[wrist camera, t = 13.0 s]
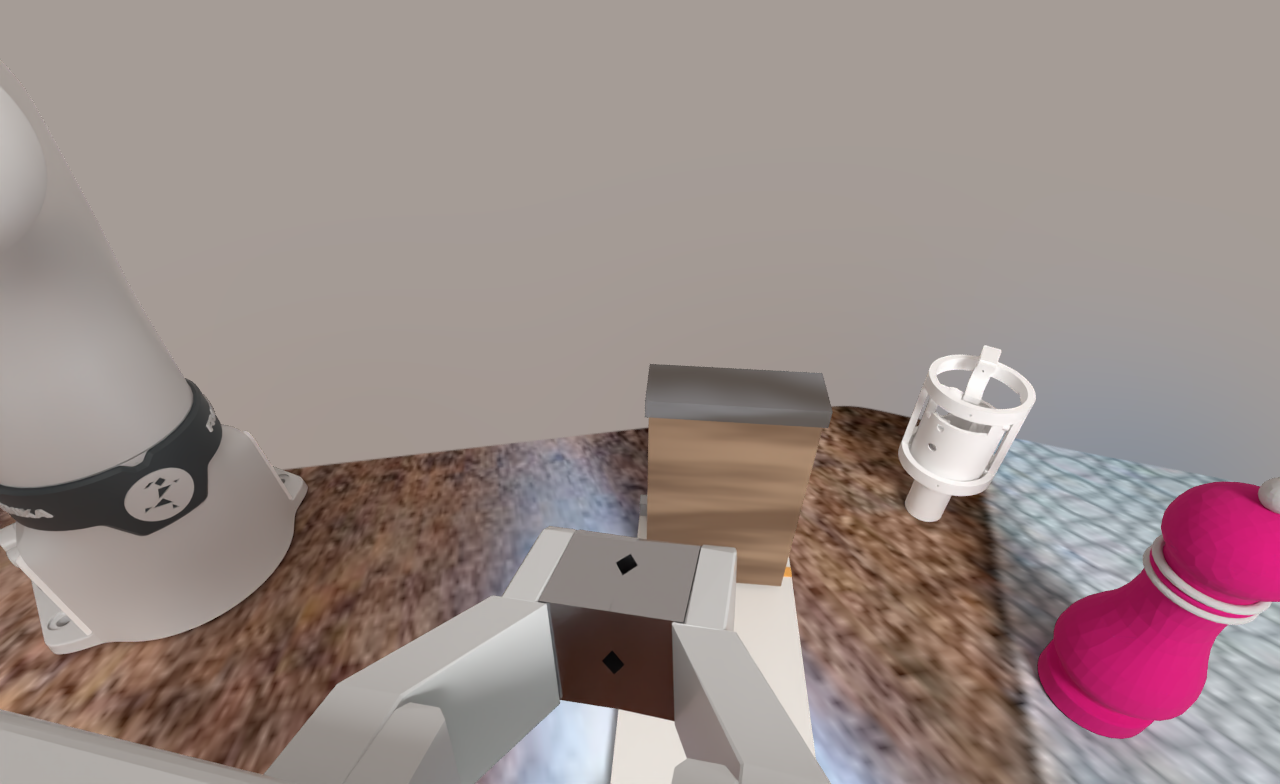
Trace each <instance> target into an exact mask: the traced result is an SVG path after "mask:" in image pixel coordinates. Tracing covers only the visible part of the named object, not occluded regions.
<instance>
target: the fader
mask: <svg viewBox="0 0 1280 784" xmlns="http://www.w3.org/2000/svg"><path fill="white" fill-rule="evenodd" d="M831 415H832V408H831V405H830V401H829V397H828V393H827V390H826V386H825V382H824V378H823V374H822V373H807V372H788V371H770V370H751V369H732V368H713V367H694V366H676V365H656V364H650V367H649V375H648V383H647V391H646V400H645V417H649V437H648V492H647V539H649V540H658V541H666V542H675V543H684V544H693V545H702V546H703V545H711V546H722V547H733V548H735V549H736V550H737V572H736V583H743V584H757V585H770V586H781V584H782V580H783V576H784V572H785V568H786V565H787V561H788V557H789V553H790V550H791V546H792V542H793V538H794V534H795V531H796V527H797V523H798V519H799V516H800V512H801V508H802V504H803V500H804V497H805V493H806V489H807V485H808V482H809V478H810V474H811V470H812V466H813V463H814V459H815V455H816V451H817V448H818V444H819V440H820V436H821V432H822V429H823V428H828V426H829V423H830V419H831Z"/></svg>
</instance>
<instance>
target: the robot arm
mask: <svg viewBox="0 0 1280 784" xmlns="http://www.w3.org/2000/svg"><path fill="white" fill-rule="evenodd" d="M307 489H308V486H307V484H306V483H305V482H304V480H303V479H302V478H301V477H300V476H297V475H295V474H292V473H289V472H287V471H284V470H281V469H279V468H276V467H274V466H272V465H271V464H270V462H269V460H268V459H267V457H266V456H265V454H264V452H263V451H262V449H261V448H260V446H259V445H258V443H257V442H256V440H255V439H254V437H253V436H252V435H251V434H250V433H249V432H248V431H240V430H239V429H237V428H235V427H231V426H228V425H222V424H220V422H219V420H218V418H217V416H216V415H215V411H214V408H213V407H212V405H211V403H210V402H209V400H208V399H207V397H205V395H204V394H202V393H201V391H200V390H199V388H198V387H197V386H196V385H195V384H194V383H193V382H192V381H190V380H188V379H186V378H184V376H183V375H182V373H181V371H180V370H179V368H178V366H177V364H176V363H175V361H174V359H173V358H172V356H171V354H170V353H169V351H168V349H167V348H166V346H165V344H164V343H163V341H162V340H161V338H160V336H159V334H158V333H157V331H156V329H155V328H154V326H153V325H152V323H151V321H150V319H149V318H148V316H147V314H146V313H145V311H144V310H143V308H142V306H141V304H140V303H139V301H138V299H137V297H136V296H135V294H134V292H133V290H132V289H131V287H130V285H129V284H128V281H127V279H126V277H125V275H124V273H123V271H122V269H121V266H120V264H119V262H118V260H117V259H116V256H115V254H114V252H113V250H112V248H111V246H110V244H109V242H108V240H107V238H106V237H105V234H104V232H103V230H102V228H101V226H100V225H99V223H98V221H97V219H96V217H95V215H94V213H93V211H92V209H91V207H90V205H89V203H88V202H87V200H86V198H85V196H84V194H83V192H82V190H81V188H80V186H79V185H78V183H77V181H76V179H75V177H74V175H73V174H72V172H71V170H70V168H69V166H68V164H67V163H66V160H65V159H64V157H63V155H62V154H61V151H60V149H59V148H58V146H57V144H56V142H55V140H54V139H53V137H52V135H51V133H50V131H49V129H48V128H47V126H46V124H45V122H44V121H43V119H42V117H41V115H40V113H39V111H38V110H37V108H36V106H35V104H34V102H33V101H32V99H31V97H30V96H29V94H28V92H27V91H26V90H25V88H24V87H23V85H22V84H21V82H20V81H19V80H18V79H17V77H16V76H15V75H14V74H13V73H12V71H11V70H10V69H9V68H8V67H7V66H6V65H5V64H4V62H3V61H2V60H0V508H2V509H3V510H4V511H6V512H8V513H9V514H10V515H11V516H12V517H13V518H14V519H15V520H16V522H15V523H13V524H11V525H9V526H7V527H4V528H2V529H0V545H1V546H2V548H3V549H4V550H5V551H6V554H7V556H8V558H9V560H10V561H11V562H12V563H13V564H14V565H15V566H16V567H18V568H20V569H21V570H22V571H23V572H24V573H25V574H26V575H27V576H28V577H29V578H30V579H31V581H32V586H33V591H34V595H35V600H36V604H37V609H38V613H39V618H40V623H41V627H42V632H43V636H44V641H45V643H46V645H47V646H48V647H49V648H50V650H51V651H52V652H53V653H55V654H68V653H72V652H76V651H80V650H83V649H86V648H90V647H93V646H96V645H99V644H102V643H107V642H139V641H149V640H155V639H161V638H165V637H169V636H173V635H176V634H179V633H182V632H185V631H188V630H190V629H193V628H196V627H198V626H200V625H202V624H204V623H206V622H209V621H211V620H213V619H214V618H216V617H218V616H220V615H222V614H223V613H225V612H227V611H228V610H230V609H231V608H233V607H234V606H236V605H237V604H239V603H240V602H241V601H243V600H244V599H245V598H247V597H248V596H249V595H250V594H252V593H253V592H254V591H255V590H256V589H257V588H258V587H259V586H261V585H262V584H263V583H264V582H265V581H266V580H267V579H268V577H269V576H270V575H271V574H272V573H273V572H274V570H275V569H276V568H277V567H278V565H279V564H280V562H281V561H282V559H283V558H284V556H285V554H286V552H287V550H288V548H289V546H290V543H291V540H292V537H293V533H294V520H295V513H296V510H297V508H298V507H299V505H300V504H301V502H302V500H303V499H304V497H305V495H306V493H307ZM736 572H737V550H736V549H735V548H733V547H722V546H711V545H703V546H702V545H693V544H684V543H675V542H666V541H658V540H649V539H639V538H635V537H627V536H620V535H613V534H606V533H599V532H592V531H585V530H575V529H568V528H561V527H553V526H549V527H547V528H545V529H544V530H543V531H542V532H541V533H540V535H539V537H538V538H537V540H536V541H535V543H534V545H533V546H532V548H531V550H530V551H529V553H528V554H527V556H526V558H525V559H524V561H523V563H522V564H521V566H520V567H519V569H518V571H517V572H516V574H515V575H514V577H513V579H512V580H511V582H510V584H509V585H508V587H507V588H506V590H505V592H504V593H503V595H502V597H499V596H491V597H489V598H487V599H485V600H484V601H482V602H480V603H478V604H477V605H475V606H473V607H471V608H470V609H468V610H466V611H464V612H463V613H461V614H459V615H457V616H456V617H454V618H452V619H450V620H449V621H447V622H445V623H443V624H442V625H440V626H438V627H436V628H435V629H433V630H431V631H429V632H427V633H426V634H424V635H422V636H420V637H419V638H417V639H415V640H413V641H412V642H410V643H408V644H406V645H405V646H403V647H401V648H399V649H398V650H396V651H394V652H392V653H391V654H389V655H387V656H385V657H384V658H382V659H380V660H378V661H377V662H375V663H373V664H371V665H370V666H368V667H366V668H364V669H363V670H361V671H359V672H357V673H355V674H354V675H352V676H350V677H348V678H347V679H345V680H343V681H341V682H340V683H338V684H337V685H336V686H335V687H334V689H333V690H332V691H331V692H330V693H329V695H328V696H327V697H326V698H325V700H324V701H323V702H322V703H321V705H320V706H319V707H318V708H317V709H316V711H315V712H314V713H313V714H312V716H311V717H310V718H309V719H308V720H307V722H306V723H305V724H304V725H303V727H302V728H301V729H300V730H299V732H298V733H297V734H296V735H295V736H294V738H293V739H292V740H291V741H290V743H289V744H288V745H287V746H286V748H285V749H284V750H283V751H282V752H281V754H280V755H279V756H278V757H277V759H276V760H275V761H274V762H273V764H272V765H271V766H270V767H269V768H268V770H267V771H266V772H265V773H264V775H262V774H258V773H254V772H250V771H246V770H242V769H238V768H234V767H230V766H226V765H222V764H218V763H214V762H210V761H206V760H202V759H198V758H194V757H190V756H186V755H182V754H178V753H174V752H170V751H166V750H162V749H158V748H154V747H150V746H146V745H142V744H138V743H134V742H130V741H126V740H122V739H118V738H114V737H110V736H105V735H101V734H97V733H93V732H89V731H85V730H81V729H77V728H73V727H69V726H65V725H61V724H57V723H53V722H49V721H45V720H41V719H37V718H33V717H29V716H25V715H21V714H17V713H13V712H9V711H5V710H1V709H0V784H475V783H476V782H477V781H478V780H479V779H480V778H481V777H482V776H483V775H484V774H485V773H486V772H487V771H488V770H490V769H491V768H492V767H493V766H494V765H495V764H496V763H497V762H498V761H499V760H500V759H501V758H502V757H503V756H505V755H506V754H507V753H508V752H509V751H510V750H511V749H512V748H513V747H514V746H515V745H516V744H517V743H518V742H520V741H521V740H522V739H523V738H524V737H525V736H526V735H527V734H528V733H529V732H530V731H531V730H532V729H533V728H535V727H536V726H537V725H538V724H539V723H540V722H541V721H542V720H543V719H544V718H545V717H546V716H547V715H548V714H549V713H551V712H552V711H553V710H554V709H555V708H556V707H557V706H558V705H559V704H560V700H564V701H570V702H577V703H583V704H590V705H596V706H602V707H609V708H615V709H620V710H625V711H629V712H634V713H638V714H643V715H648V716H652V717H657V718H661V719H666V720H671V721H675V727H676V730H677V732H678V735H679V738H680V741H681V744H682V746H683V749H684V752H685V755H686V758H687V759H685V760H684V761H683V762H681V763H680V764H678V765H677V766H676V767H675V768H674V773H673V778H672V783H671V784H831V783H830V781H829V780H828V778H827V776H826V775H825V773H824V772H823V770H822V768H821V767H820V765H819V764H818V762H817V760H816V759H815V757H814V756H813V754H812V752H811V751H810V749H809V748H808V746H807V744H806V743H805V741H804V740H803V738H802V736H801V735H800V733H799V732H798V730H797V728H796V727H795V725H794V724H793V722H792V720H791V719H790V717H789V716H788V714H787V712H786V711H785V709H784V708H783V706H782V704H781V703H780V701H779V700H778V698H777V696H776V695H775V693H774V692H773V690H772V688H771V687H770V685H769V684H768V682H767V680H766V679H765V677H764V676H763V674H762V672H761V671H760V669H759V668H758V666H757V664H756V663H755V661H754V660H753V658H752V656H751V655H750V653H749V652H748V650H747V648H746V647H745V645H744V644H743V642H742V640H741V639H740V637H739V636H738V634H737V632H734V619H735V598H736Z"/></svg>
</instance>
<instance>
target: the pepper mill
mask: <svg viewBox="0 0 1280 784" xmlns="http://www.w3.org/2000/svg"><path fill="white" fill-rule="evenodd" d="M1161 530H1162V535H1160V536H1159V537H1157V538H1156V539H1155V541H1154V542H1153V545H1151V546H1150V547H1149V548H1147V549H1146V551H1145V553H1144V555H1143V565H1144V569H1143V570H1142V572H1141V573H1140V574H1139V575H1138V576H1136V577H1135V578H1134V579H1133V580H1132V581H1131V582H1130V583H1128V584H1126V585H1124V586H1122V587H1120V588H1118V589H1114V590H1110V591H1105V592H1101V593H1097V594H1093V595H1089V596H1087V597H1085V598H1083V599H1080V600H1078V601H1076V602H1075V603H1073V604H1072V605H1071V606H1070V607H1068V608H1067V609H1066V610H1065V611H1064V612H1063V613H1062V614H1061V615H1060V617H1059V618H1058V620H1057V622H1056V624H1055V628H1054V639H1053V640H1052V641H1051V642H1050V643H1049V644H1048V645H1047V647H1046V648H1045V649H1044V650H1043V651H1042V653H1041V654H1040V656H1039V660H1038V674H1039V678H1040V681H1041V683H1042V685H1043V687H1044V689H1045V692H1046V693H1047V694H1048V696H1049V697H1050V698H1051V700H1052V701H1053V703H1054V704H1055V705H1056V707H1058V708H1059V709H1060V710H1061V711H1062V712H1063V713H1064V714H1065V715H1066V716H1067V717H1068V718H1070V719H1071V720H1072V721H1074V722H1075V723H1077V724H1078V725H1080V726H1081V727H1083V728H1085V729H1087V730H1089V731H1091V732H1094V733H1096V734H1098V735H1102V736H1106V737H1110V738H1119V739H1123V738H1130V737H1133V736H1135V735H1137V734H1139V733H1140V732H1142V731H1143V730H1144V729H1145V728H1146V727H1148V726H1149V725H1150V724H1151V723H1152V722H1153V721H1154V720H1157V721H1161V720H1168V719H1172V718H1174V717H1177V716H1179V715H1181V714H1183V713H1184V712H1185V711H1186V710H1187V709H1188V708H1189V707H1190V706H1191V705H1192V704H1193V703H1194V702H1195V701H1196V700H1197V698H1198V697H1199V695H1200V694H1201V691H1202V689H1203V687H1204V684H1205V682H1206V678H1207V669H1208V660H1209V655H1210V650H1211V647H1212V645H1213V643H1214V641H1215V639H1216V637H1217V636H1218V634H1219V633H1220V632H1221V631H1222V630H1223V629H1224V628H1225V627H1226V626H1227V625H1242V624H1246V623H1249V622H1251V621H1253V620H1254V619H1255V618H1256V617H1257V616H1258V615H1259V613H1262V612H1264V611H1265V610H1267V609H1268V608H1269V606H1270V605H1271V603H1272V602H1280V477H1278V478H1272V479H1269V480H1268V481H1266V482H1264V483H1263V484H1262V485H1261V487H1259V486H1256V485H1252V484H1246V483H1240V482H1213V483H1208V484H1203V485H1200V486H1196V487H1193V488H1191V489H1189V490H1187V491H1186V492H1184V493H1182V494H1181V495H1179V496H1178V497H1177V498H1176V499H1175V500H1174V501H1173V502H1172V503H1171V504H1170V505H1169V506H1168V508H1167V509H1166V511H1165V512H1164V516H1163V519H1162V525H1161Z"/></svg>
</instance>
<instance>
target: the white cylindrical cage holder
mask: <svg viewBox="0 0 1280 784" xmlns="http://www.w3.org/2000/svg"><path fill="white" fill-rule="evenodd" d="M1000 354H1001V350H1000V349H997V348H993V347H990V346H984V347H983V349H982V352H981V354H980V356H979V357H978V356H972V355H949V356H945V357H942V358H939V359H937V360H936V361H934V362H933V363H932V365H931V366H930V369H929V371H928V374H927V376H926V379H925V382H924V384H923V387H922V389H921V392H920V395H919V397H918V400H917V402H916V405H915V408H914V410H913V413H912V416H911V418H910V421H909V423H908V426H907V429H906V431H905V434H904V436H903V439H902V442H901V444H900V447H899V450H898V456H899V460H900V463H901V465H902V466H903V468H904V469H905V470H906V472H907V473H908V474H909V475H910V476H911V477H913V478H914V479H915V480H914V482H913V484H912V487H911V489H910V491H909V494H908V496H907V498H906V500H905V507H906V509H907V511H908V512H909V513H910V514H911V515H912V516H914V517H915V518H917V519H919V520H922V521H926V522H934V521H937V520H939V519H940V518H941V516H942V514H943V512H944V510H945V508H946V506H947V504H948V502H949V500H950V498H951V496H952V495H954V496H970V495H975V494H978V493H981V492H982V491H984V490H985V489H987V487H988V486H989V485H990V483H991V481H992V479H993V477H994V476H995V474H996V472H997V470H998V468H999V466H1000V465H1001V463H1002V461H1003V459H1004V457H1005V455H1006V454H1007V452H1008V450H1009V448H1010V446H1011V444H1012V443H1013V441H1014V439H1015V437H1016V435H1017V433H1018V431H1019V430H1020V428H1021V426H1022V424H1023V422H1024V420H1025V419H1026V417H1027V415H1028V413H1029V411H1030V409H1031V408H1032V406H1033V404H1034V402H1035V399H1036V395H1035V391H1034V389H1033V387H1032V385H1031V384H1030V383H1029V382H1028V380H1026V379H1025V378H1024V377H1023V376H1022V375H1021V374H1019V373H1018V372H1016V371H1015V370H1013V369H1011V368H1010V367H1008V366H1006V365H1003V364H1001V363H999V362H998V359H999V357H1000ZM948 370H969V371H973V372H972V375H971V377H970V379H969V381H968V384H967V387H966V390H965V394H963V391H959V389H957V388H953V387H951V388H949V387H947V386H944V384H942V385H941V384H940V383H939V381H938V379H937V376H936V375H938V374H939V373H941V372H944V371H948ZM990 376H991V377H993V378H995V379H998V380H999V381H1001V382H1003V383H1004V384H1006V385H1007V386H1009V387H1010V388H1011V389H1012V390H1013V391H1014V392H1015V393H1016V394H1020V400H1021V405H1020V406H1018V407H1016V408H1011V409H996V408H994V407H993V406H992V405H990V404H989V403H987V402H985V401H983V400H981V398H982V394H983V391H984V389H985V387H986V385H987V383H988V381H989V378H990ZM927 395H929V396H930V399H929V401H928V404H927V406H926V409H925V411H924V414H923V416H922V419H921V421H920V424H919V426H917V427H915V425H916V423H917V420H918V418H919V415H920V413H921V410H922V408H923V405H924V403H925V400H926V398H927ZM938 405H939V406H940V407H941V408H943V409H944V410H946V411H948V412H950V413H948V414H947V415H945V416H941V415H939V413H935V412H936V409H937V407H938ZM1005 431H1007V432H1006V434H1005V436H1004V438H1003V440H1002V442H1001V444H1000V446H999V447H998V449H997V451H996V453H995V455H994V456H993V453H994V451H995V449H996V447H997V446H998V444H999V442H1000V440H1001V438H1002V436H1003V434H1004V432H1005ZM929 443H930V444H929ZM928 444H929V445H928Z"/></svg>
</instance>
